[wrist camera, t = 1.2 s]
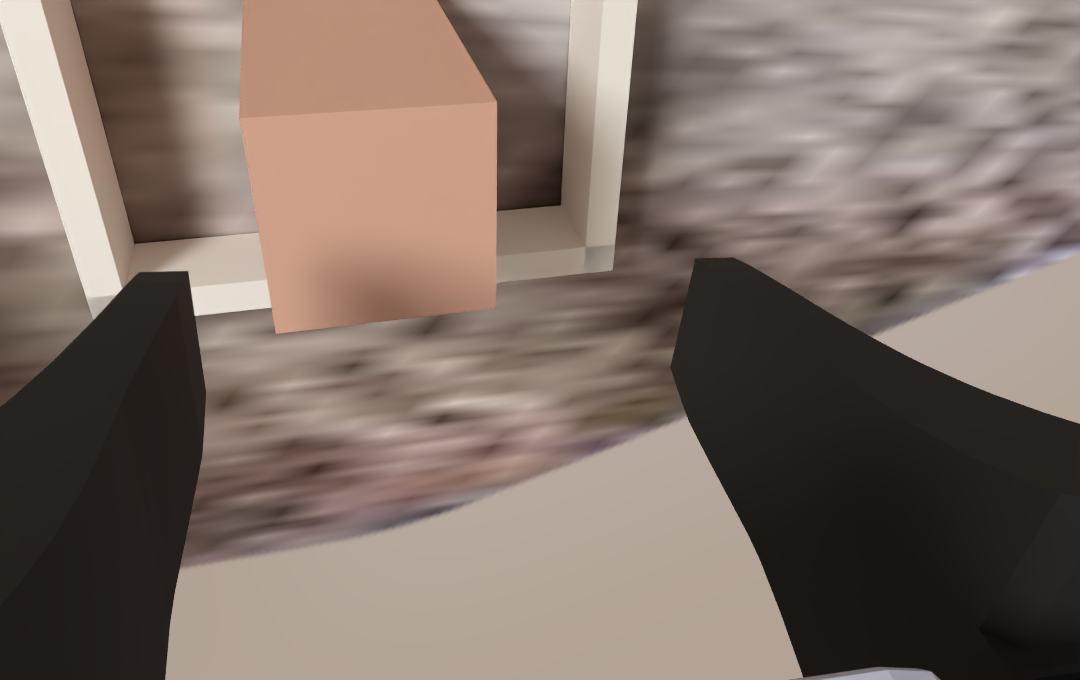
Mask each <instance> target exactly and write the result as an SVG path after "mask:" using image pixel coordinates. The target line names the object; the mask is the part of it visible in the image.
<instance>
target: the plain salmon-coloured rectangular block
mask: <svg viewBox="0 0 1080 680" xmlns="http://www.w3.org/2000/svg"><path fill="white" fill-rule="evenodd" d="M239 119H240V125H241V131H242V137H243V143H244V149H245V155H246V160H247V166H248V172H249V178H250V184H251V190H252V196H253V202H254V207H255V213H256V219H257V225H258V231H259V237H260V243H261V248H262V254H263V260H264V266H265V272H266V278H267V284H268V289H269V295H270V301H271V307H272V313H273V319H274V325H275V331H276V334H277V333H286V332H294V331H303V330H312V329H320V328H329V327H338V326H346V325H355V324H364V323H372V322H381V321H390V320H398V319H407V318H415V317H424V316H433V315H441V314H450V313H459V312H467V311H476V310H485V309H493V308H496V235H497V101H496V99H495V98H494V96H493V94H492V93H491V91H490V89H489V87H488V86H487V84H486V82H485V81H484V79H483V77H482V76H481V74H480V72H479V71H478V69H477V67H476V65H475V64H474V62H473V60H472V59H471V57H470V55H469V54H468V52H467V50H466V49H465V47H464V45H463V44H462V42H461V40H460V38H459V37H458V35H457V33H456V32H455V30H454V28H453V27H452V25H451V23H450V22H449V20H448V18H447V16H446V15H445V13H444V11H443V10H442V8H441V6H440V5H439V3H438V1H437V0H243V12H242V46H241V79H240V112H239Z"/></svg>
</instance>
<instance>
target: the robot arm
mask: <svg viewBox="0 0 1080 680" xmlns="http://www.w3.org/2000/svg"><path fill="white" fill-rule="evenodd" d="M671 370H672V373H673V376H674V379H675V383H676V386H677V389H678V392H679V395H680V398H681V401H682V403H683V406H684V409H685V412H686V414H687V417H688V420H689V422H690V424H691V426H692V428H693V430H694V432H695V434H696V436H697V438H698V440H699V442H700V444H701V446H702V448H703V450H704V452H705V454H706V456H707V457H708V459H709V461H710V463H711V465H712V467H713V469H714V471H715V473H716V475H717V477H718V478H719V480H720V482H721V484H722V486H723V488H724V490H725V492H726V494H727V495H728V497H729V499H730V501H731V503H732V505H733V507H734V509H735V511H736V512H737V514H738V516H739V518H740V520H741V522H742V524H743V526H744V528H745V529H746V531H747V533H748V535H749V537H750V539H751V542H752V544H753V546H754V548H755V550H756V552H757V554H758V556H759V559H760V561H761V563H762V566H763V569H764V571H765V574H766V576H767V579H768V581H769V584H770V587H771V589H772V592H773V594H774V597H775V600H776V602H777V605H778V607H779V610H780V612H781V615H782V618H783V621H784V624H785V626H786V629H787V632H788V635H789V638H790V641H791V643H792V646H793V649H794V652H795V655H796V657H797V660H798V663H799V666H800V669H801V672H802V675H803V678H798V679H792V680H1080V424H1078V423H1075V422H1072V421H1069V420H1065V419H1062V418H1059V417H1056V416H1052V415H1050V414H1046V413H1043V412H1041V411H1038V410H1035V409H1032V408H1029V407H1027V406H1024V405H1021V404H1018V403H1015V402H1013V401H1010V400H1007V399H1005V398H1002V397H999V396H996V395H993V394H991V393H989V392H986V391H984V390H981V389H979V388H976V387H973V386H971V385H969V384H966V383H964V382H962V381H960V380H957V379H955V378H953V377H951V376H948V375H946V374H944V373H942V372H939V371H937V370H935V369H933V368H931V367H928V366H926V365H924V364H922V363H920V362H918V361H916V360H913V359H912V358H909V357H908V356H906V355H904V354H902V353H900V352H898V351H896V350H894V349H892V348H890V347H889V346H887V345H885V344H883V343H881V342H879V341H877V340H876V339H874V338H872V337H870V336H868V335H866V334H865V333H863V332H861V331H859V330H857V329H856V328H854V327H852V326H850V325H849V324H847V323H845V322H844V321H842V320H840V319H838V318H837V317H835V316H833V315H832V314H830V313H828V312H827V311H825V310H823V309H822V308H820V307H818V306H817V305H815V304H813V303H812V302H810V301H809V300H807V299H805V298H804V297H802V296H800V295H799V294H797V293H795V292H794V291H792V290H790V289H789V288H787V287H786V286H784V285H782V284H781V283H779V282H777V281H776V280H774V279H772V278H771V277H769V276H767V275H765V274H764V273H762V272H760V271H759V270H757V269H755V268H753V267H751V266H749V265H747V264H746V263H744V262H741V261H739V260H737V259H735V258H696V259H695V263H694V267H693V272H692V276H691V280H690V285H689V289H688V293H687V298H686V302H685V307H684V311H683V315H682V320H681V324H680V328H679V333H678V337H677V341H676V346H675V350H674V354H673V359H672V363H671ZM205 401H206V389H205V382H204V376H203V369H202V362H201V355H200V348H199V341H198V335H197V328H196V321H195V314H194V307H193V301H192V294H191V287H190V280H189V273H188V271H164V272H139V273H138V274H136V275H135V276H134V277H133V278H132V279H131V280H130V281H129V282H128V283H127V284H126V285H125V287H124V288H123V289H122V290H121V291H120V292H119V293H118V294H117V295H116V296H115V297H114V298H113V300H112V301H111V302H110V303H109V304H108V305H107V306H106V307H105V308H104V309H103V310H102V311H101V313H100V314H99V315H98V316H97V317H96V318H95V319H94V320H93V321H92V322H91V323H90V324H89V325H88V326H87V327H86V329H85V330H84V331H83V332H82V333H81V334H80V335H79V336H78V337H77V338H76V339H75V340H74V341H73V342H72V343H71V344H70V345H69V346H68V347H67V348H66V349H65V350H64V351H63V352H62V353H61V354H60V355H59V356H58V357H57V358H56V359H55V360H54V361H53V362H51V363H50V364H49V365H48V366H47V367H46V368H45V369H44V370H43V371H42V372H40V373H39V374H38V375H37V376H36V377H35V378H34V379H33V380H32V381H30V382H29V383H28V384H27V385H26V386H25V387H24V388H23V389H21V390H20V391H19V392H18V393H17V394H16V395H15V396H14V397H12V398H11V399H10V400H9V401H7V402H6V403H5V404H4V405H2V406H1V407H0V680H165V674H166V663H167V651H168V639H169V628H170V619H171V613H172V607H173V600H174V594H175V588H176V583H177V579H178V574H179V569H180V564H181V559H182V554H183V549H184V544H185V539H186V534H187V529H188V525H189V520H190V515H191V510H192V505H193V500H194V495H195V490H196V485H197V480H198V475H199V469H200V464H201V459H202V451H203V436H204V420H205Z"/></svg>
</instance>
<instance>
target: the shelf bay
mask: <svg viewBox="0 0 1080 680" xmlns="http://www.w3.org/2000/svg"><path fill="white" fill-rule="evenodd" d="M637 2H638V0H571V17H570V37H569V56H568V76H567V95H566V115H565V134H564V154H563V173H562V193H561V205H559V206H548V207H537V208H526V209H515V210H504V211H497V235H496V283H501V282H511V281H520V280H529V279H538V278H547V277H557V276H566V275H575V274H584V273H593V272H603V271H612V270H613V260H614V249H615V239H616V228H617V217H618V206H619V196H620V185H621V174H622V163H623V153H624V142H625V131H626V120H627V110H628V99H629V88H630V77H631V67H632V56H633V45H634V34H635V24H636V13H637ZM0 24H1V27H2V30H3V33H4V36H5V40H6V43H7V46H8V49H9V52H10V55H11V59H12V62H13V65H14V68H15V71H16V75H17V78H18V81H19V84H20V87H21V91H22V94H23V97H24V100H25V103H26V107H27V110H28V113H29V116H30V119H31V123H32V126H33V129H34V132H35V135H36V139H37V142H38V145H39V148H40V151H41V155H42V158H43V161H44V164H45V167H46V171H47V174H48V177H49V180H50V183H51V187H52V190H53V193H54V196H55V199H56V203H57V206H58V209H59V212H60V215H61V219H62V222H63V225H64V228H65V231H66V235H67V238H68V241H69V244H70V247H71V251H72V254H73V257H74V260H75V263H76V267H77V270H78V273H79V276H80V279H81V282H82V286H83V289H84V292H85V295H86V298H87V302H88V305H89V308H90V311H91V314H92V318H93V320H94V319H95V318H96V317H97V316H98V315H99V314H100V313H101V311H102V310H103V309H104V308H105V307H106V306H107V305H108V304H109V303H110V302H111V301H112V300H113V298H114V297H115V296H116V295H117V294H118V293H119V292H120V291H121V290H122V289H123V288H124V287H125V285H126V284H127V283H128V282H129V281H130V280H131V279H132V278H133V277H134V276H135V275H136V274H138V273H139V272H164V271H188V273H189V280H190V287H191V294H192V301H193V307H194V314H195V316H198V315H207V314H216V313H226V312H235V311H244V310H253V309H262V308H272V307H271V301H270V295H269V289H268V284H267V278H266V272H265V266H264V260H263V254H262V248H261V243H260V237H259V233H250V234H239V235H228V236H217V237H205V238H194V239H183V240H172V241H161V242H150V243H139V244H134V240H133V237H132V233H131V229H130V225H129V222H128V218H127V214H126V210H125V206H124V203H123V199H122V195H121V191H120V187H119V184H118V180H117V176H116V172H115V169H114V165H113V161H112V157H111V153H110V150H109V146H108V142H107V138H106V135H105V131H104V127H103V123H102V119H101V116H100V112H99V108H98V104H97V100H96V97H95V93H94V89H93V85H92V82H91V78H90V74H89V70H88V66H87V63H86V59H85V55H84V51H83V48H82V44H81V40H80V36H79V32H78V29H77V25H76V21H75V17H74V14H73V10H72V6H71V2H70V0H0Z"/></svg>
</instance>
